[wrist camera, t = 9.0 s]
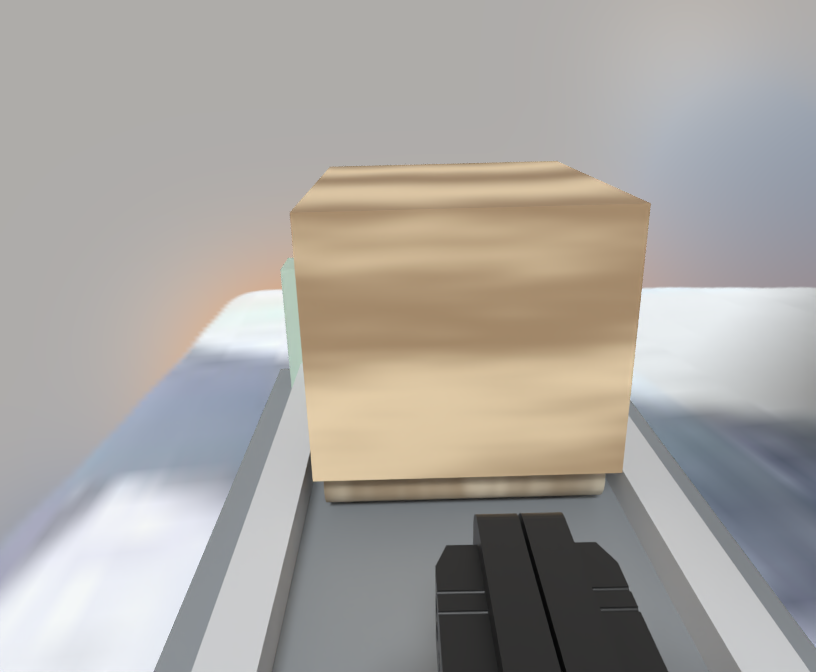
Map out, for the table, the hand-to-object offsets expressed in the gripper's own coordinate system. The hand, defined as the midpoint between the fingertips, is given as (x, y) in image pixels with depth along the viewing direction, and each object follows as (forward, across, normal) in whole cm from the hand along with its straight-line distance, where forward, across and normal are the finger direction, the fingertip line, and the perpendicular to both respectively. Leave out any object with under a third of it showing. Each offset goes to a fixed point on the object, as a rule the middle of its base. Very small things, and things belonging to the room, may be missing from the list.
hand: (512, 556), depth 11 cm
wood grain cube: (+16, 0, +6) cm, 17 cm away
